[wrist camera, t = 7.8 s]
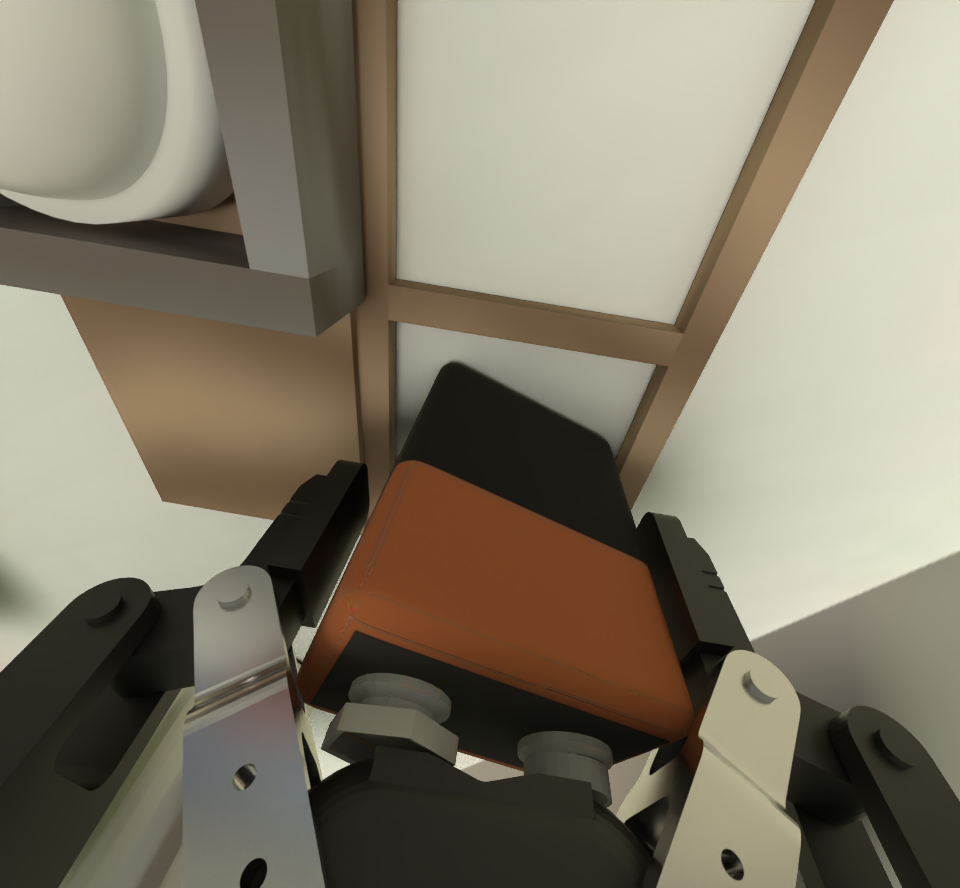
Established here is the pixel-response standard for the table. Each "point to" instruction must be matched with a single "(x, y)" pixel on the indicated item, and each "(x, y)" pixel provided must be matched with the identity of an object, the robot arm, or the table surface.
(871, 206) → the table surface
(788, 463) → the table surface
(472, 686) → the battery
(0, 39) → the dome
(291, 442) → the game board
